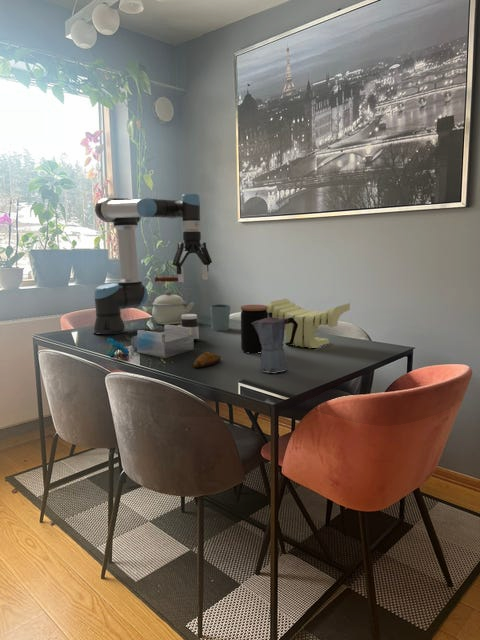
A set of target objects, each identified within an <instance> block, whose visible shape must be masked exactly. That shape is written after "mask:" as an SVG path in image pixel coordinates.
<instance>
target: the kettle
mask: <svg viewBox="0 0 480 640" xmlns="http://www.w3.org/2000/svg"><path fill="white" fill-rule="evenodd" d="M157 282H163V283H165V282H167V283H168V282H169V283H170V282H178V276H177V277H176V276H161V277H158V276H154V285H153V286H152V287H151V288H150V290H149V291H148V292H149V293H148V297H149V301H150V303H151V304H150V306H151V307H152V309H151V314H152V316H153V318H154V320H155V321H156V324H158V325H180V324H181V320H182V317H181V315H184V314H190V311H191V310H192V308H193V307H194V305H195V302H194V301H193V302H192V301H191V302H190V303H189V304H187V303H188V300H189V292H188V290H187V289H186V287H184V285H183V282H179V284H180V285H181V287H182V289H183V290H184V291H185V292H186V295H187V296H186V300H185V301H184V299H183V298H182V297H181V296H180V295H177V294H173V292H172V291H171V290H170V289H167V290H165V292H164V293H165V294H163V295H162V294H160V295H159V296H157V297H156V298H155V299H154V301H153V300H152V297H151V292H152V290H153V289H154V288H155V286H156V284H157Z"/></svg>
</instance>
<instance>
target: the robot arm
mask: <svg viewBox="0 0 480 640" xmlns="http://www.w3.org/2000/svg"><path fill="white" fill-rule="evenodd" d="M94 212H95V214H96V216H97V218H98V219H99V220H100V221H103V222H105V223H113V228H114V229H115V230H116V231H117V243H118V256H119V267H120V279H119V281H118V283H108V284H101V285H99V286H96V287H95V289H94V306H95V322H94V325H93V328H92V332H95V333H100V334H115V335H119V333H120V334H123V333H125V332H126V326H125V324H124V323H125V322H124V321H123V318H122V314H121V313H122V312H121V310H125V309H126V310H128V309H136V308H141V307H143V306H144V305H145V304H146V303H147V300H148V297H149V293H148V292H149V291H148V289H147V288H146V287H147V286H146V285H145V284H144V283H143V280H141V279H140V277H139V268H138V267H139V266H138V265H139V264H138V253H137V252H138V251H137V239H136V228H138V226H139V225H138V223H140V221H141V219H142V218H164V219H165V218H166V219H178V218H179V219H180V218H182V231H183V232H182V240H183V242H178V243H177V248H176V252H175V255H174V258H173V261H172V265H173V266H175V267H176V274H177V277H178V281H177V282H178V283H180V282H182V283H185V281H184V280H185V278H184V273H185V272H184V266H183V264H184V262H185V261H186V259H187V257H188V256H189V255H190V254H196V255H197V257H198V258H199V260H200V261H201V263H202V265H201V272H202V273H201V274H202V275H201V279H202V280H204V281H207V280H209V279H208V276H209V275H208V273H209V265H211V264H213V263H212V261H213V260H212V258H211V256H210V255H211V254H210V252H209V250H208V248H207V243H206V242H201V239H202V234H201V200H200V195H199V194H197V193H183V194H182V195H181V199H163V198H161V199H158V198H151V197H150V198H149V197H145V198H140V199H132V198H125V197H124V198H121V197H104V198H101V199H99V200H98V201H97V202H96V203H95V206H94Z"/></svg>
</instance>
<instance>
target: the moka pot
mask: <svg viewBox="0 0 480 640" xmlns="http://www.w3.org/2000/svg"><path fill="white" fill-rule="evenodd" d="M272 314H273V313H271V312H270V313H268V316H269V317H268V318H265V319H261V320H258V321H254V322H253V323H252V325H253V326H254V328H255V329H256V331H257V333H258V335H259V340H260V343H261V344H262V351H261V353H260V354H261V358H260V371H261V370H263V371H269V372H277V371H282V370H286V368H287V369H288V367H287V361H286V356H285V352H284V351H285V350H284V342H285V324H289V323H293V324H294V327H293V331H292V335H291V339H290V342H288V343H287V342H285V346H289V345H292V344H293V340H294V337H295V333H296V330H297V327H298V324H297V322H296V321H295V320H294V319H293V318H292V317H291V318H288V319H287V318H284V319H279V318H274V317H272ZM286 371H287V370H286Z"/></svg>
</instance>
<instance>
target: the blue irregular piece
mask: <svg viewBox="0 0 480 640" xmlns="http://www.w3.org/2000/svg"><path fill="white" fill-rule="evenodd" d="M106 340H107V342H108V343H109V344H110V345H109V350H108V351H107V355H109V356H110V357H111V356H112V357H113V356H114V354H115V353H116V352H117V351H119V352H121V353H123V354H126V355H129V353H130V351H129V349H128V348H126V347H125V345H123V344H121V343H120V342H119V341H117V340H115V339H114V338H111V337H107V339H106Z"/></svg>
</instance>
